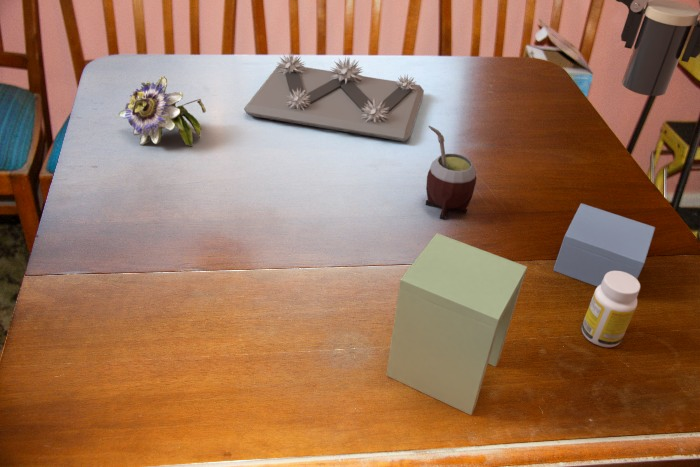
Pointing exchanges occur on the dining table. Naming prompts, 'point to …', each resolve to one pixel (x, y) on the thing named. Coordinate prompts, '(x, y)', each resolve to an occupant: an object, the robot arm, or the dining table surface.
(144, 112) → the passion flower
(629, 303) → the supplement bottle
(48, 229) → the dining table surface
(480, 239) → the dining table surface
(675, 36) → the spice jar
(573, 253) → the blue grey block
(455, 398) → the notched sage green block
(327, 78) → the spiky constellation board
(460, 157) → the mate gourd
